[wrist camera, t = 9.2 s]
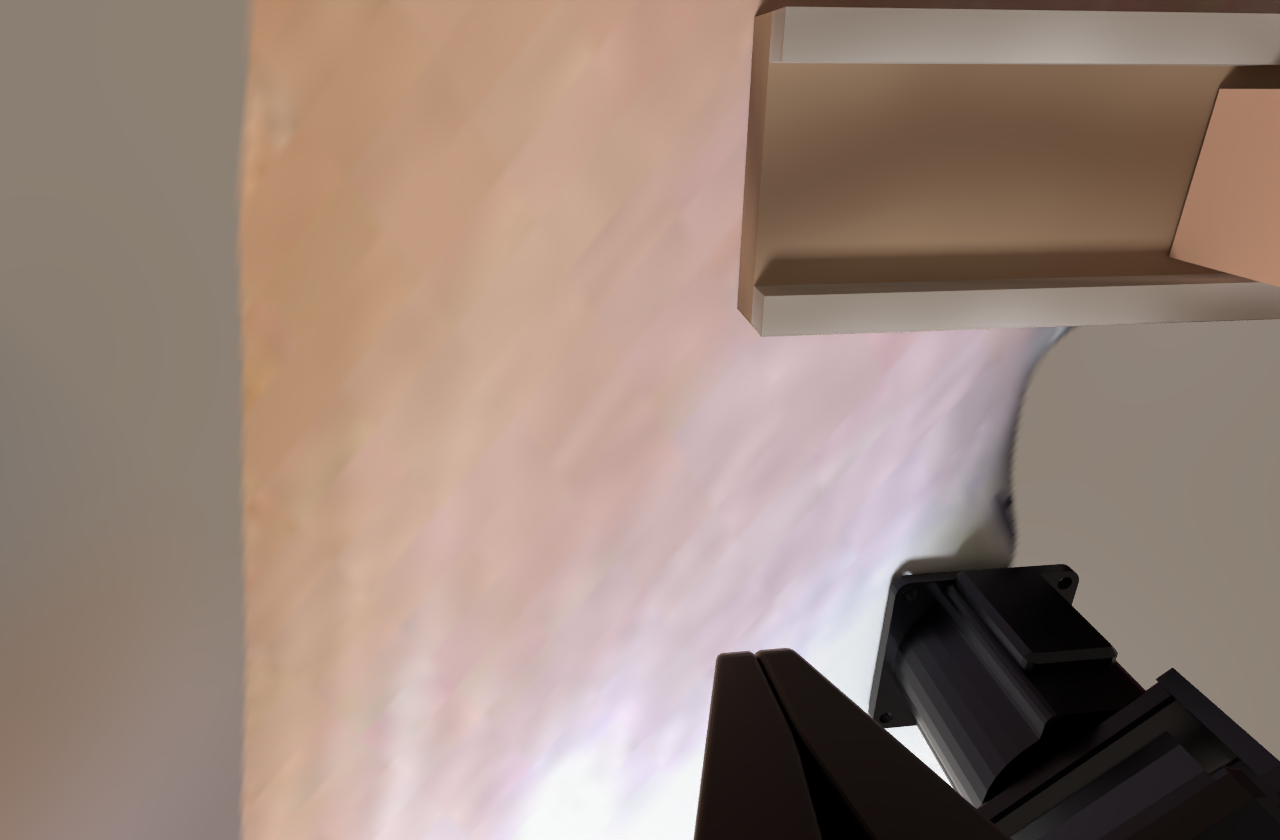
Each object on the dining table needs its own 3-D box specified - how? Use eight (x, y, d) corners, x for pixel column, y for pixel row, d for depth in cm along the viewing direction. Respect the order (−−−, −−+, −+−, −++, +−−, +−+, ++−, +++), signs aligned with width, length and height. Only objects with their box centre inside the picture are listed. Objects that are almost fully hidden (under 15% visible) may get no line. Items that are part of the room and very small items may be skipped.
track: (1304, 291, 22) (1455, 332, 18) (737, 308, 20) (779, 357, 16) (1407, 25, 19) (1611, 10, 15) (754, 17, 17) (810, -2, 13)
